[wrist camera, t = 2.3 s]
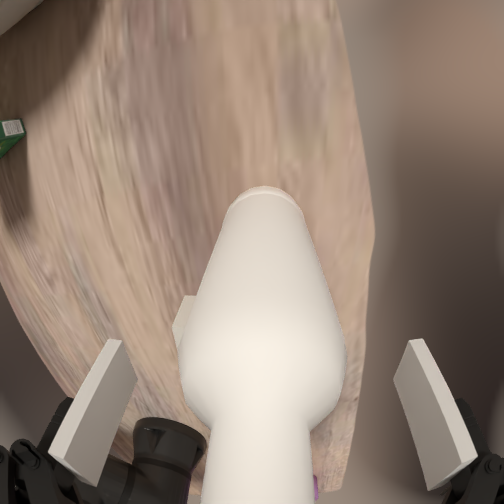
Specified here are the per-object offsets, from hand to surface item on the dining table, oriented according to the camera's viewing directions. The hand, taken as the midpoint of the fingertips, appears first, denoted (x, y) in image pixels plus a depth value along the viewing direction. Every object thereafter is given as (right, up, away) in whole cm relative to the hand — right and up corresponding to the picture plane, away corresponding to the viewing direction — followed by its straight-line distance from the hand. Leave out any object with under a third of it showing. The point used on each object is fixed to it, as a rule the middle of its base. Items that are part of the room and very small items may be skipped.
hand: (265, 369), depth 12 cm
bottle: (+1, +8, +18) cm, 20 cm away
